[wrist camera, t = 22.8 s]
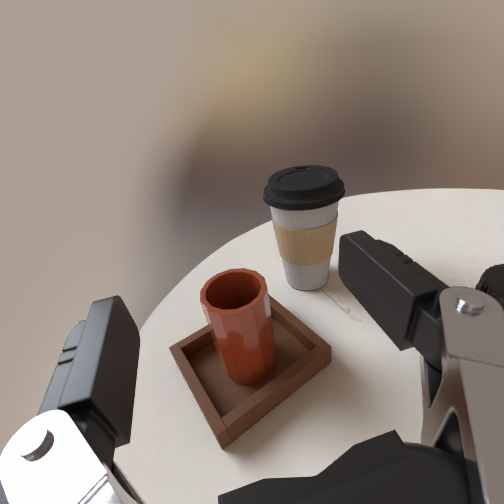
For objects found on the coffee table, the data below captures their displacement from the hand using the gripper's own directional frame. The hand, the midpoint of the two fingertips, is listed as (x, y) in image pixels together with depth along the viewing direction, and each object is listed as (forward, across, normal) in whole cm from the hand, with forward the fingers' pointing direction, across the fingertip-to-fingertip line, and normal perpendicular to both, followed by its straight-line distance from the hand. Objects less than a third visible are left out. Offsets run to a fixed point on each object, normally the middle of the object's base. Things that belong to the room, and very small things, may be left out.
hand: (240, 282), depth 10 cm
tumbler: (+11, 0, -19) cm, 22 cm away
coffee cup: (+21, +11, -20) cm, 31 cm away
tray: (+11, 0, -20) cm, 23 cm away
